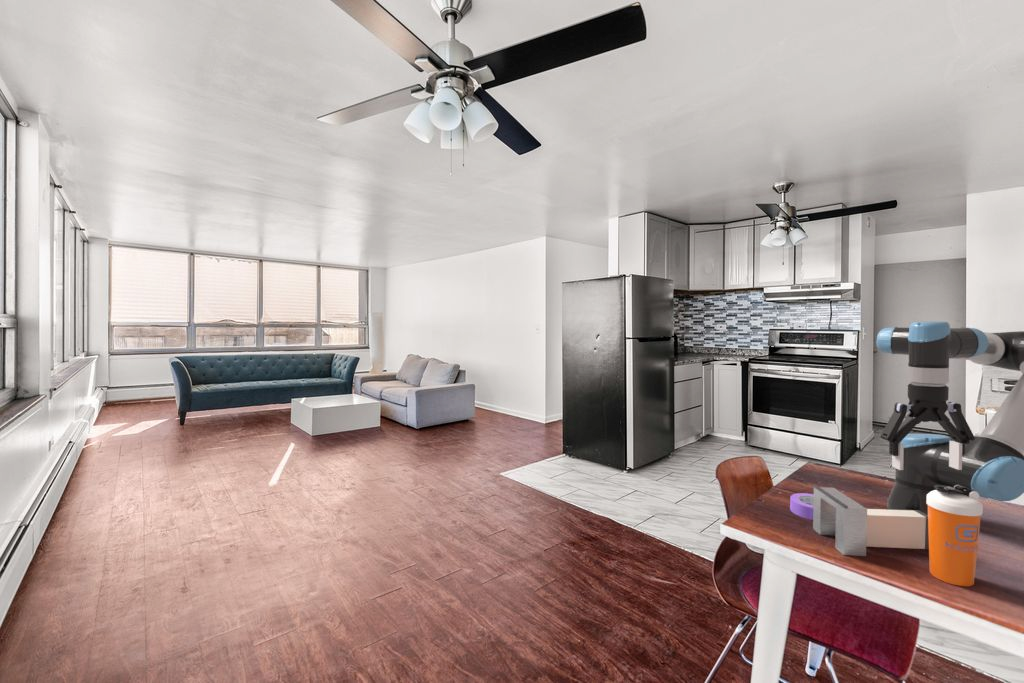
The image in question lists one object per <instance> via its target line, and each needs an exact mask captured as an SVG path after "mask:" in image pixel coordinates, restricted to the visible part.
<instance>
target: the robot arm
mask: <svg viewBox="0 0 1024 683" xmlns="http://www.w3.org/2000/svg"><path fill="white" fill-rule="evenodd" d="M876 346H877V348H878V350H879V351H880V352H881V353H884V354H891V355H904V356H905V355H906V356H908V364H907V365H908V366H907V368H908V369H907V370H908V371H907V380H908V382H909V384H907V398H908V400H909V401H908V404H907V403H905V404H904V403H900V402H895V403H894V408H893V412H892V414H891V416H890V417H889V420H888V422H886V423H887V424H886V425H885V427H884V429H883V431H882V432H881V434H880V439H882V440H884V441H887V442H888V444H889V446H888V448H889V451H888V452H889V455H891V467H892V468H894V469H895V480H894V481H895V482H894V483H893V487H892V489H891V491H890V492H889V496H888V497H887V500H886V502H887V503H886V507H887V510H919V511H921V512H923V513H925V514H927V515H928V505H927V504H926V498H927V494H928V493H929V492H931V491H933V490H936V489H935V488H934V486H935V485H942V486H950V487H954V486H956V485H961V486H963V487H966V488H968V489H971V490H973V491H976V492H977V493H978V494H979V498H983V499H990V500H993V501H998V502H1011V501H1014V500H1016V499H1018V498H1020V497H1021V496H1022V495H1023V494H1024V331H1021V330H1020V331H1005V332H1003V331H1001V332H988V331H987V332H983V331H982V330H980V329H978V328H975V327H964V326H963V327H951V326H950V323H949V322H947V321H914V322H912V323H911V324H910V325H909V326H908V327H897V326H894V327H885V328H882V329H881V330H879V332H878V333H877V336H876ZM950 359H951V360H953V359H954V360H962V361H963V360H966V361H970V362H972V363H974V364H977V365H981V366H990V367H995V368H1000V369H1005V370H1010V371H1017V372H1021V375H1020V377H1019V379H1018V380H1017V382H1016V383H1015V385H1014V386H1013V387H1012V389H1011V391H1010V392H1009V393H1008V395H1007V396H1006V398H1004V400H1003V402H1002V403H1001V405H999V407H998V409H997V410H996V411H995V413H994V414H993V416H992V417H991V419H990V420H989V422H988V423H987V424H986V426H985V427H984V429H983V430H982V432H981V433H980V434H977V435H974V433H973V431H972V429H971V428H970V425H969V424H968V422H967V420H966V417H965V416H964V414H963V412H962V404H960V403H958V402H951V401H949V393H950V392H949V390H950V389H949V387H948V385H947V384H949V383H950ZM947 401H948V402H947ZM946 412H948V414H949V416H950V418H951V419H950V418H949V417H948V416H947V415H946ZM951 420H952V422H951ZM921 422H923V423H929V422H933V423H937V424H938V425H940V426H941V428H942V429H943V430H944V431H945V432H946V433H947V434H948V435H949V436H948V435H943V434H938V433H937V434H935V433H910V432H911V431H912V430H913V429H914V428H915V427H916V426H917V425H918V424H919V425H920V424H921ZM951 439H953V440H951Z"/></svg>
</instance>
